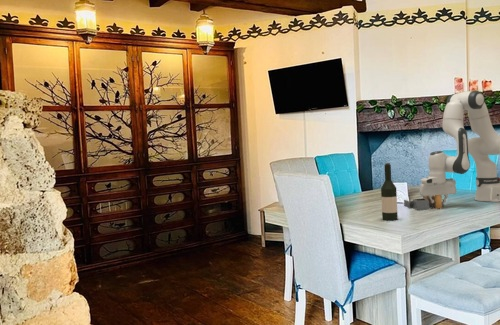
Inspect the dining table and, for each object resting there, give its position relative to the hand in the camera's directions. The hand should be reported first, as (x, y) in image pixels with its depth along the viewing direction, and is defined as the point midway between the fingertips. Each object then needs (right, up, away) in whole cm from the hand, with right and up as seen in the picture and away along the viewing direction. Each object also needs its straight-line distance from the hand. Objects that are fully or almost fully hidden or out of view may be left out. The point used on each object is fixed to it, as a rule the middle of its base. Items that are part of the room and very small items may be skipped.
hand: (438, 202), depth 256 cm
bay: (-5, -3, +10) cm, 12 cm away
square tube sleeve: (-10, -4, +1) cm, 11 cm away
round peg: (0, -3, 0) cm, 3 cm away
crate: (-1, -2, +10) cm, 10 cm away
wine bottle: (-35, -7, -22) cm, 42 cm away
